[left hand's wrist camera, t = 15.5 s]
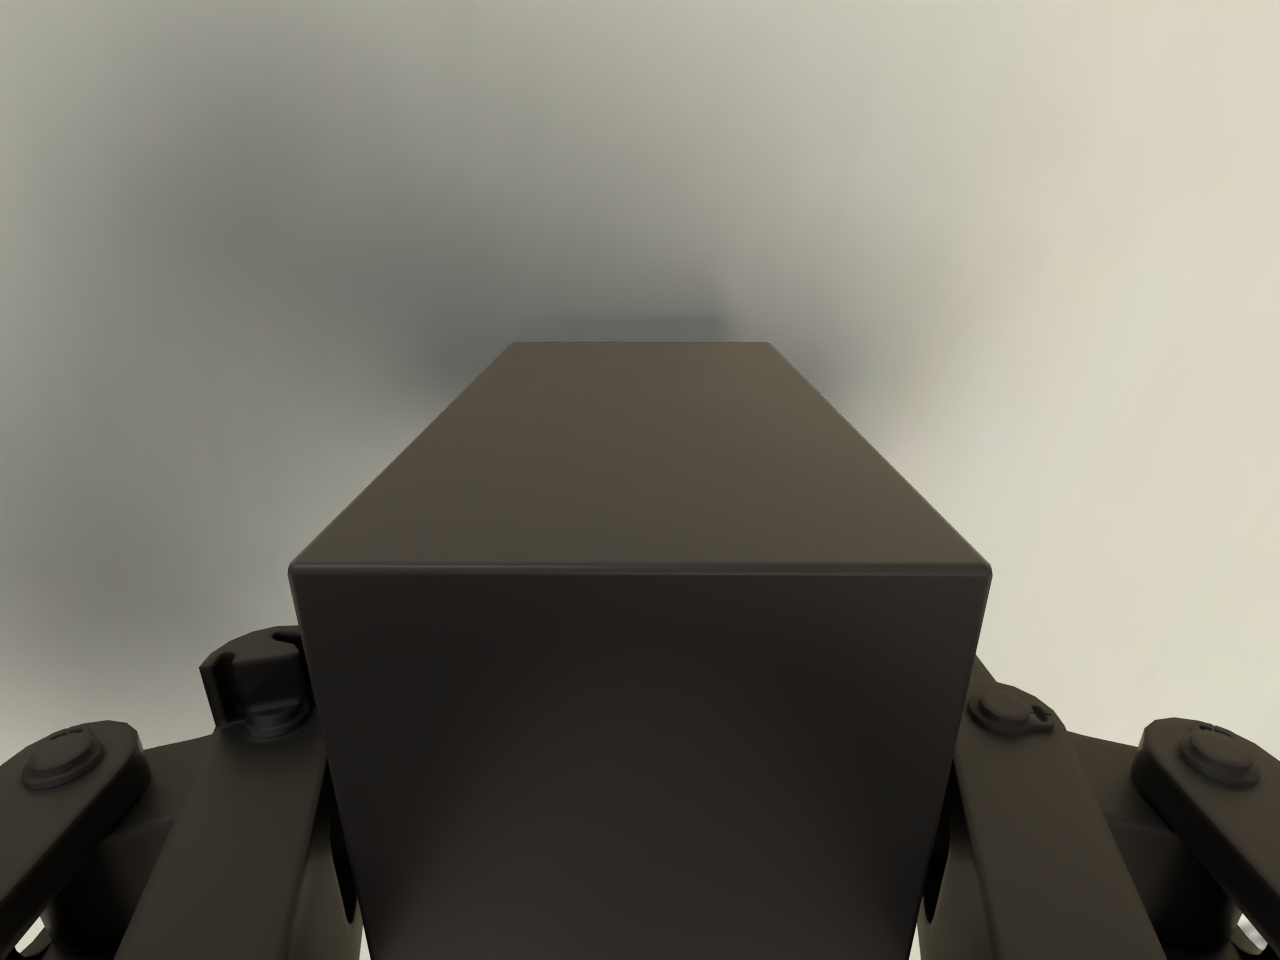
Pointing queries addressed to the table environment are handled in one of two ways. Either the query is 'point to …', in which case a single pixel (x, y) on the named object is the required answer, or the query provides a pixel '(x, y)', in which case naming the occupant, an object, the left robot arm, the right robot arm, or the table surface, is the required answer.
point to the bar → (640, 667)
